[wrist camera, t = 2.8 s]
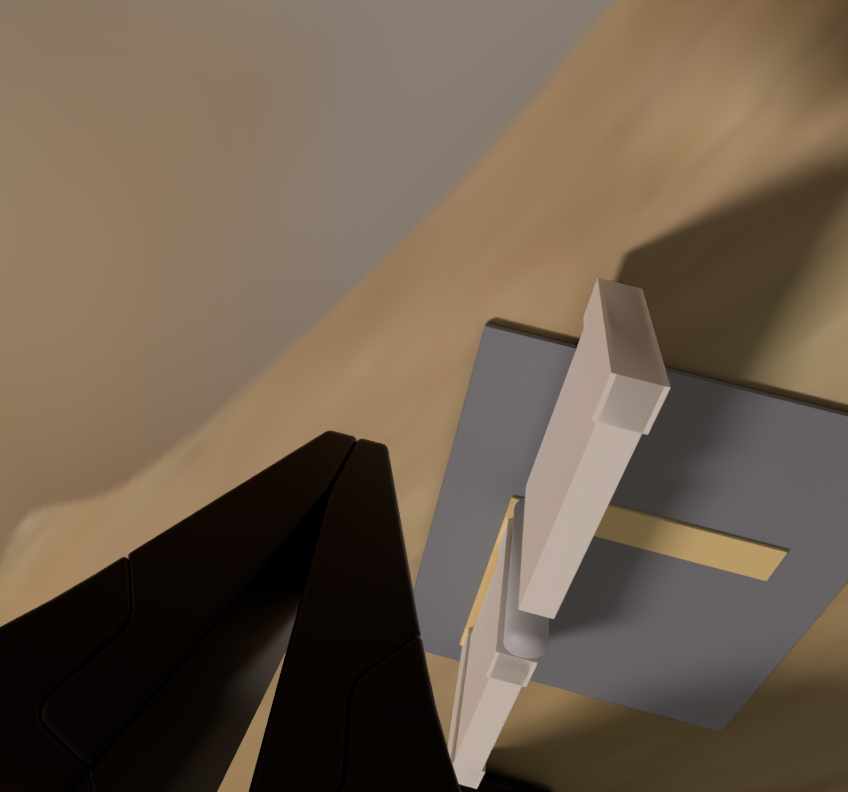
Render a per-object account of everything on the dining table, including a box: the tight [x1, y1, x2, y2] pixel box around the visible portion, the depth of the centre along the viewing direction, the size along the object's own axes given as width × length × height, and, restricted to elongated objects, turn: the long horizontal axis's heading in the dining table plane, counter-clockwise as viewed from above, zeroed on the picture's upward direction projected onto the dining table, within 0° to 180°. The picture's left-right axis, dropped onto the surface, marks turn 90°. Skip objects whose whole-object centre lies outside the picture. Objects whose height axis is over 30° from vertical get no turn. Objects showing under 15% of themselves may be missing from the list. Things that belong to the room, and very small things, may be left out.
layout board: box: [414, 323, 848, 732], centre depth 19 cm, size 13×12×1 cm
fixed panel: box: [448, 519, 538, 789], centre depth 18 cm, size 6×1×4 cm, turn 169°
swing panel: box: [503, 278, 671, 658], centre depth 14 cm, size 8×1×4 cm, turn 169°
